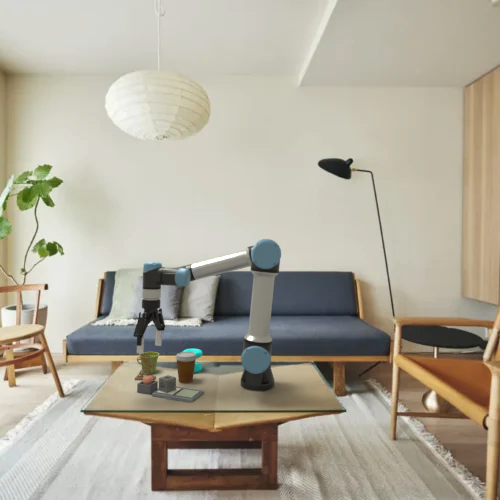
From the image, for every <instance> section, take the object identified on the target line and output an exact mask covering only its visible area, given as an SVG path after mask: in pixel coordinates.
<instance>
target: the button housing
mask: <svg viewBox="0 0 500 500" xmlns="http://www.w3.org/2000/svg"><path fill="white" fill-rule="evenodd" d="M136 386H137V387H136V392H137V393H141V394H145V395H146V394H148V395H152V393H154V392H155V391H157V390H158V389H159V380H153V383H152V384H150V385H146V384H143V381H142V380H140V382H137V385H136Z"/></svg>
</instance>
